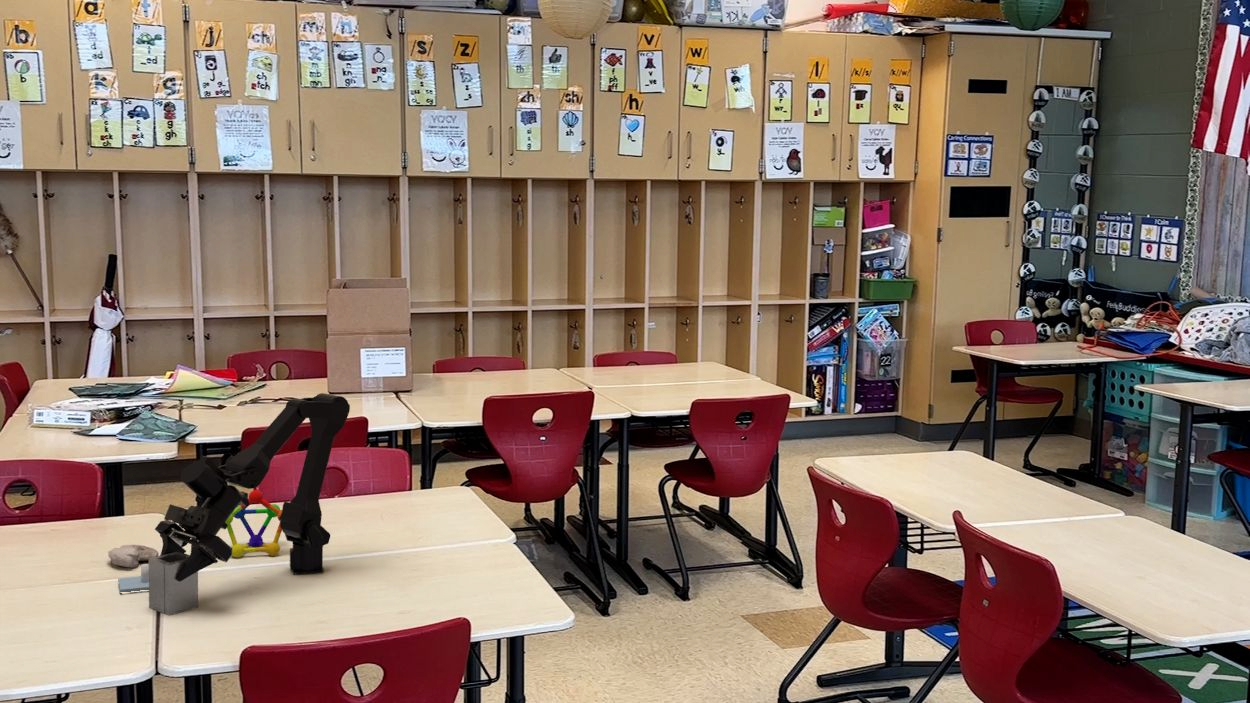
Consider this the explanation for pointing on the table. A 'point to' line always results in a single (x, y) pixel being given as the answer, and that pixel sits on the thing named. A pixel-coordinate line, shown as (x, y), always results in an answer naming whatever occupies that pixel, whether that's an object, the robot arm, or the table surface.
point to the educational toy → (255, 540)
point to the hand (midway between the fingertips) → (167, 576)
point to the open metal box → (171, 585)
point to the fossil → (131, 555)
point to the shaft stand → (136, 581)
